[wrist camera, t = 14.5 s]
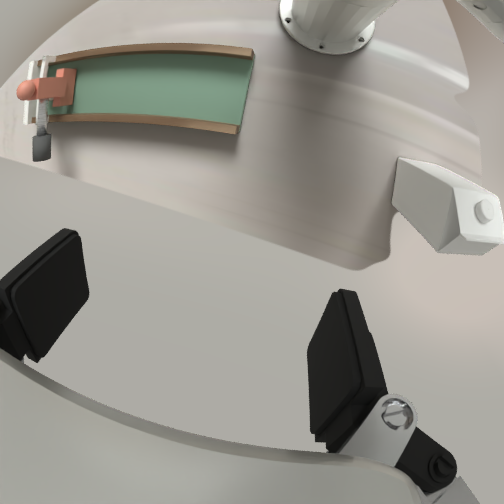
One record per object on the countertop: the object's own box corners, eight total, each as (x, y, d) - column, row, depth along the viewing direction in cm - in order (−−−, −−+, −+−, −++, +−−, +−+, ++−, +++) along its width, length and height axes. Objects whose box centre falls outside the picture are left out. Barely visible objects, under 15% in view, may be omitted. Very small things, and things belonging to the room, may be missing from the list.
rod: (68, 70, 29) (15, 70, 19) (81, 68, 29) (27, 67, 19) (62, 149, 36) (11, 168, 25) (74, 150, 36) (22, 169, 25)
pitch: (49, 62, 29) (33, 61, 26) (255, 55, 29) (252, 48, 26) (42, 120, 34) (27, 123, 31) (239, 131, 35) (235, 134, 31)
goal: (45, 61, 28) (24, 62, 24) (68, 56, 28) (46, 55, 24) (38, 121, 34) (17, 126, 29) (60, 119, 34) (38, 124, 29)
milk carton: (429, 208, 37) (500, 274, 20) (390, 203, 37) (454, 274, 21) (437, 164, 33) (521, 210, 17) (397, 156, 34) (476, 200, 17)
